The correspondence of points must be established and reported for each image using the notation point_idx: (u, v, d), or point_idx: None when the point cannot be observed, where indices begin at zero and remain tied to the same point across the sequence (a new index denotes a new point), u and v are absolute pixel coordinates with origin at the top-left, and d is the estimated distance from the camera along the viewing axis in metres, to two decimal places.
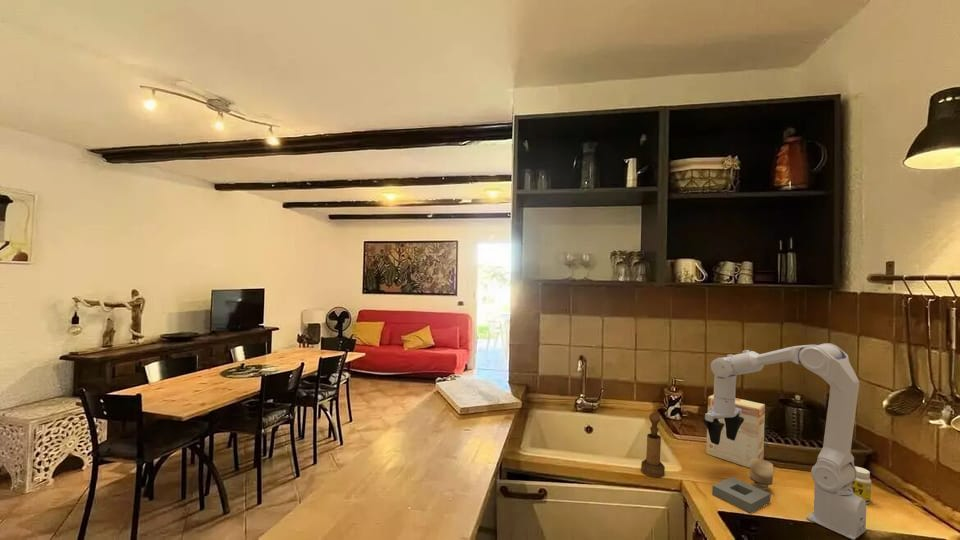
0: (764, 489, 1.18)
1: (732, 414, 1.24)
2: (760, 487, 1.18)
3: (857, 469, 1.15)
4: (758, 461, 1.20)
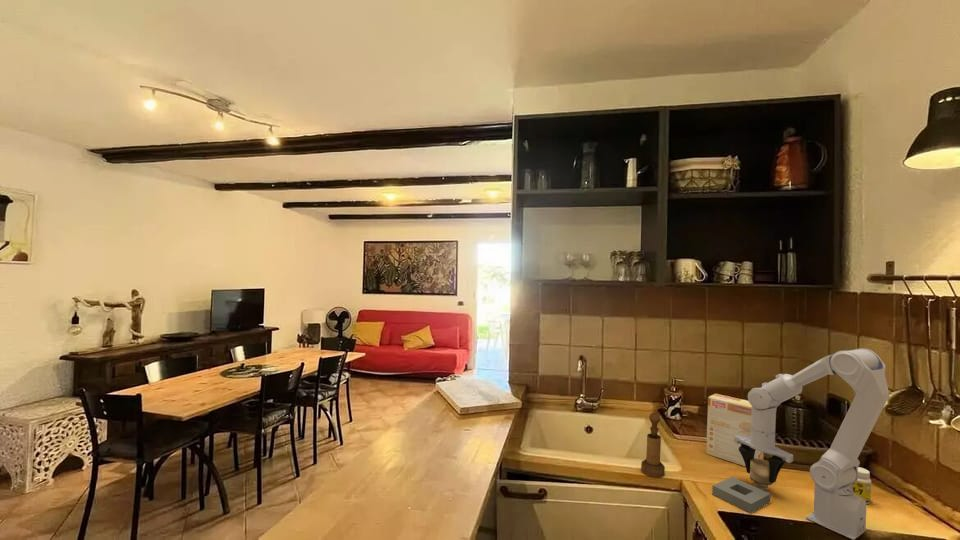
0: (764, 489, 1.18)
1: (755, 446, 1.18)
2: (760, 487, 1.18)
3: None
4: (758, 461, 1.20)
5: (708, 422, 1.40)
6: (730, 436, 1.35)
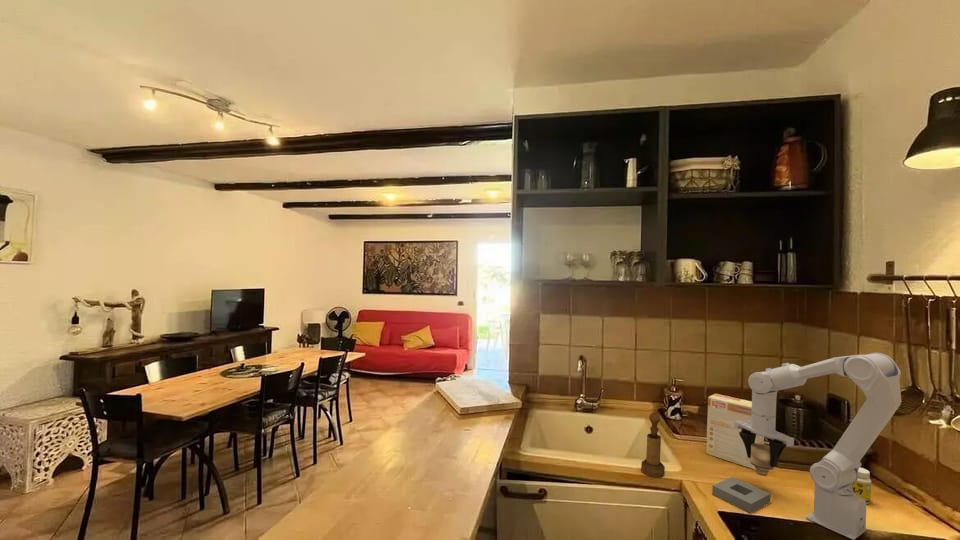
0: (765, 473, 1.17)
1: (756, 430, 1.18)
2: (761, 471, 1.18)
3: None
4: (759, 445, 1.20)
5: (708, 422, 1.40)
6: (730, 436, 1.35)
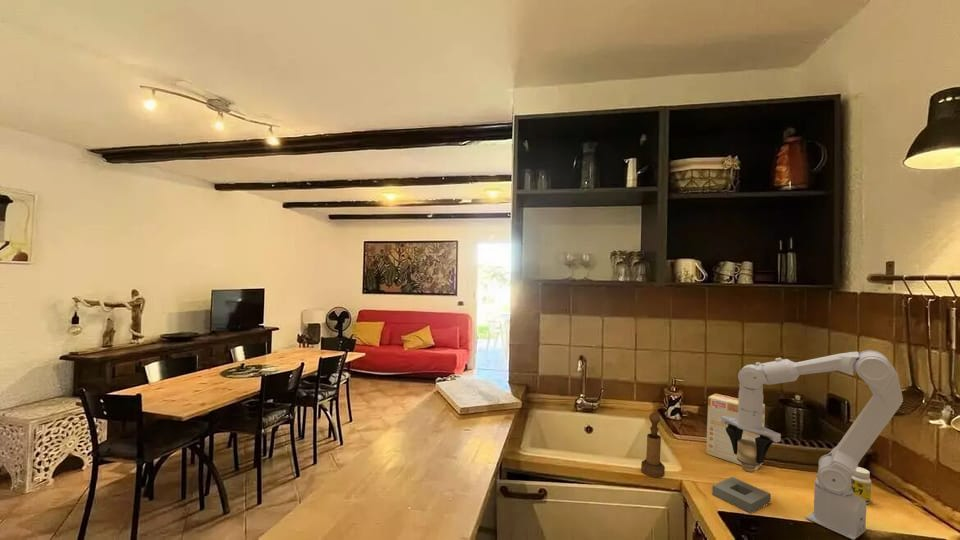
0: (751, 470, 1.14)
1: (742, 426, 1.14)
2: (747, 468, 1.14)
3: (857, 469, 1.15)
4: (746, 441, 1.16)
5: (708, 422, 1.40)
6: None
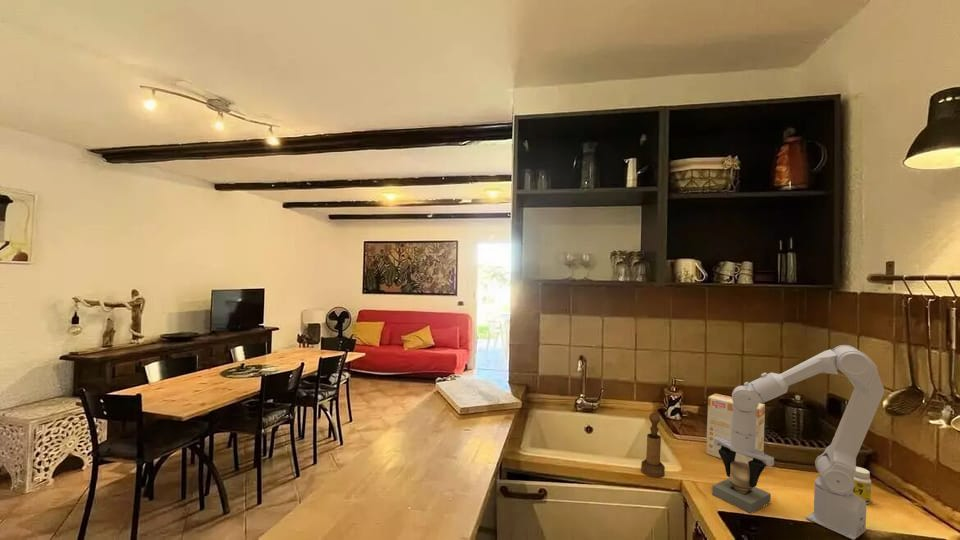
0: (744, 493, 1.12)
1: (735, 448, 1.12)
2: (740, 491, 1.12)
3: (857, 469, 1.15)
4: (739, 464, 1.14)
5: (708, 422, 1.40)
6: (730, 436, 1.35)
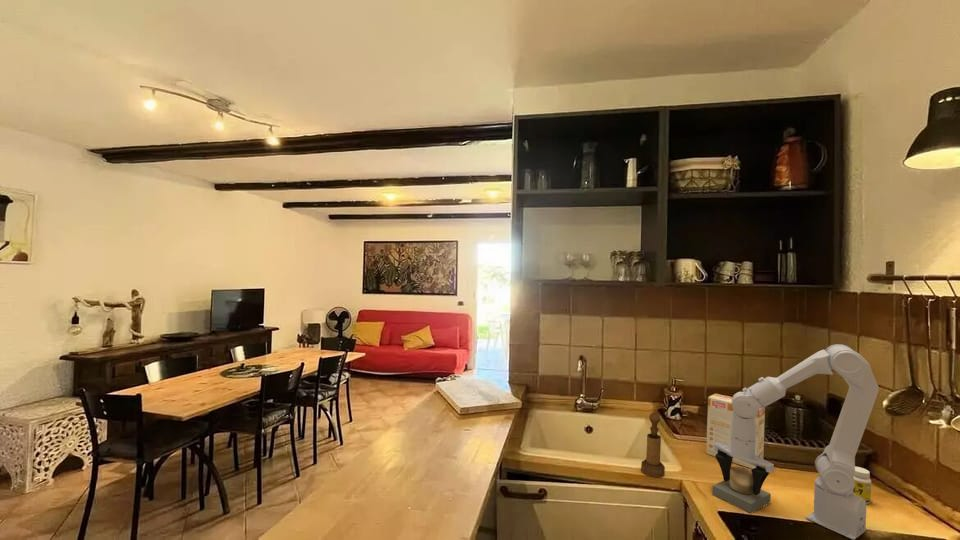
0: None
1: (735, 455, 1.12)
2: None
3: (857, 469, 1.15)
4: (739, 469, 1.14)
5: (708, 422, 1.40)
6: (730, 436, 1.35)
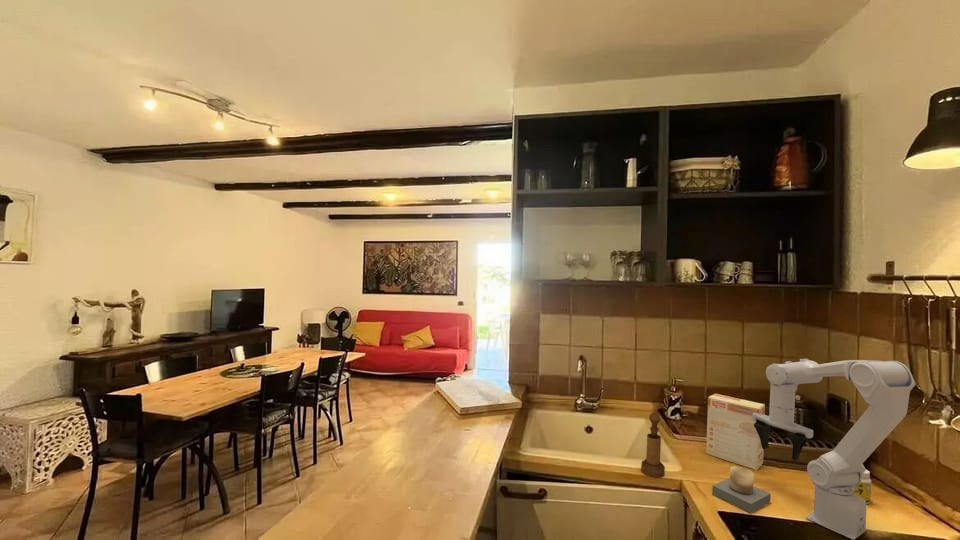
0: None
1: (774, 422, 1.17)
2: None
3: None
4: (739, 469, 1.14)
5: (708, 422, 1.40)
6: (730, 436, 1.35)
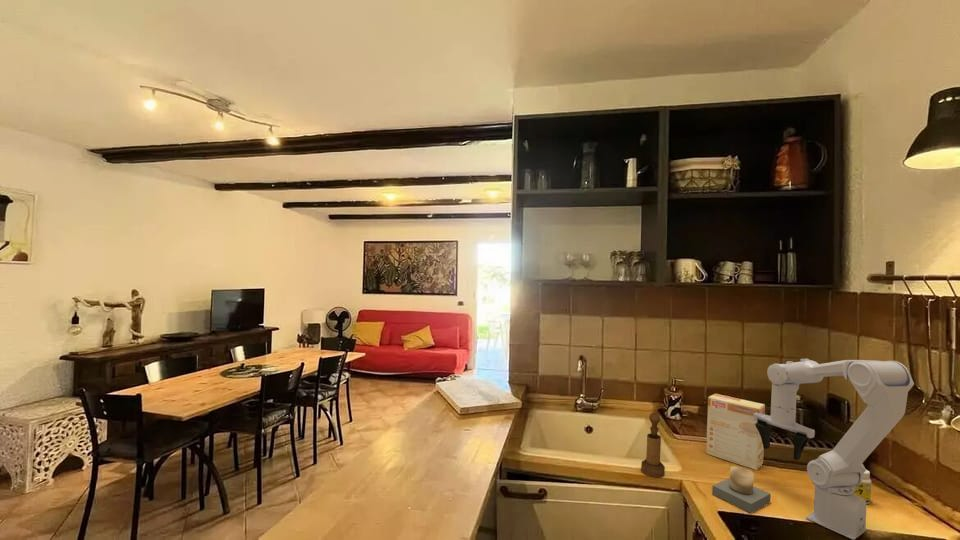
0: None
1: (776, 422, 1.17)
2: None
3: None
4: (739, 469, 1.14)
5: (708, 422, 1.40)
6: (730, 436, 1.35)
